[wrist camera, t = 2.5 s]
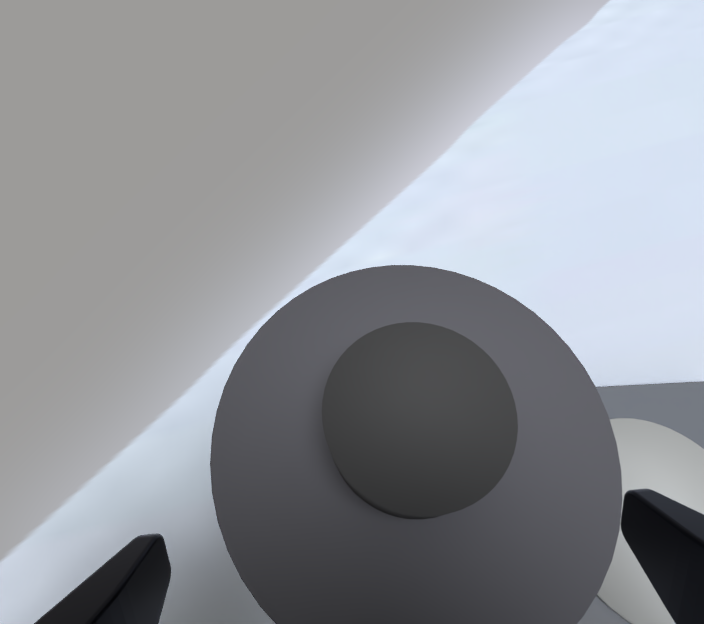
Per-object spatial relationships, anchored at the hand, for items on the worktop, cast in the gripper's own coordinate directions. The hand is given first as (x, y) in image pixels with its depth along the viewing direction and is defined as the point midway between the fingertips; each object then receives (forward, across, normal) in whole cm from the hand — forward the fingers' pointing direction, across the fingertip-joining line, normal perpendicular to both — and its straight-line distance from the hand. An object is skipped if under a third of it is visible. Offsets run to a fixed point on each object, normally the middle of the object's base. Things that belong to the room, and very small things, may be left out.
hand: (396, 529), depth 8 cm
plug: (+7, 0, +6) cm, 9 cm away
